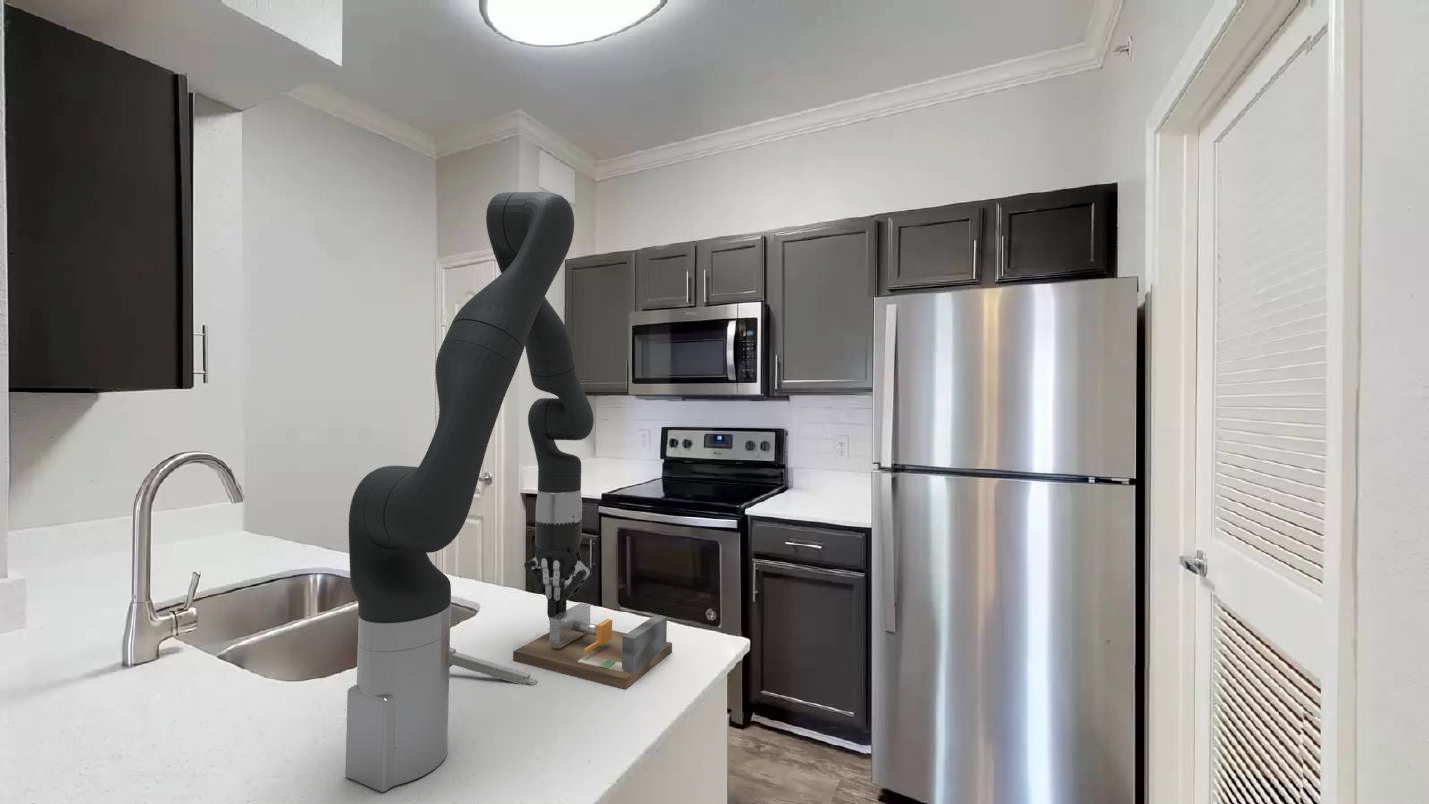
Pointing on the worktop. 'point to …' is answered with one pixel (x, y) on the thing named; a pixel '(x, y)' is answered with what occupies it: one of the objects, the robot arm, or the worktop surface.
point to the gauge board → (603, 654)
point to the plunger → (570, 625)
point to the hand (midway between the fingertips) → (556, 620)
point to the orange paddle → (601, 634)
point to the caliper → (490, 668)
